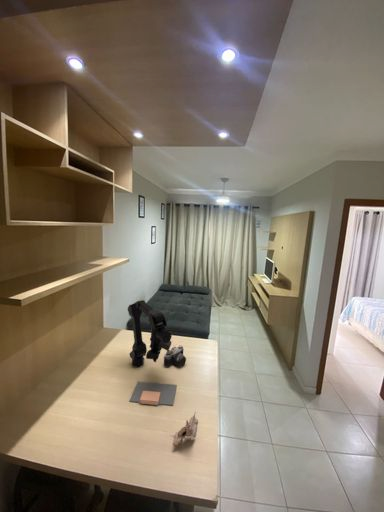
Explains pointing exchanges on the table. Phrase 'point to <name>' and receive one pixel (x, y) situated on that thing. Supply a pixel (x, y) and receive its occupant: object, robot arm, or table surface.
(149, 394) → the block
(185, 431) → the bone fragment
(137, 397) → the mat
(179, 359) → the camera
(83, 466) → the table surface
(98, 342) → the table surface
